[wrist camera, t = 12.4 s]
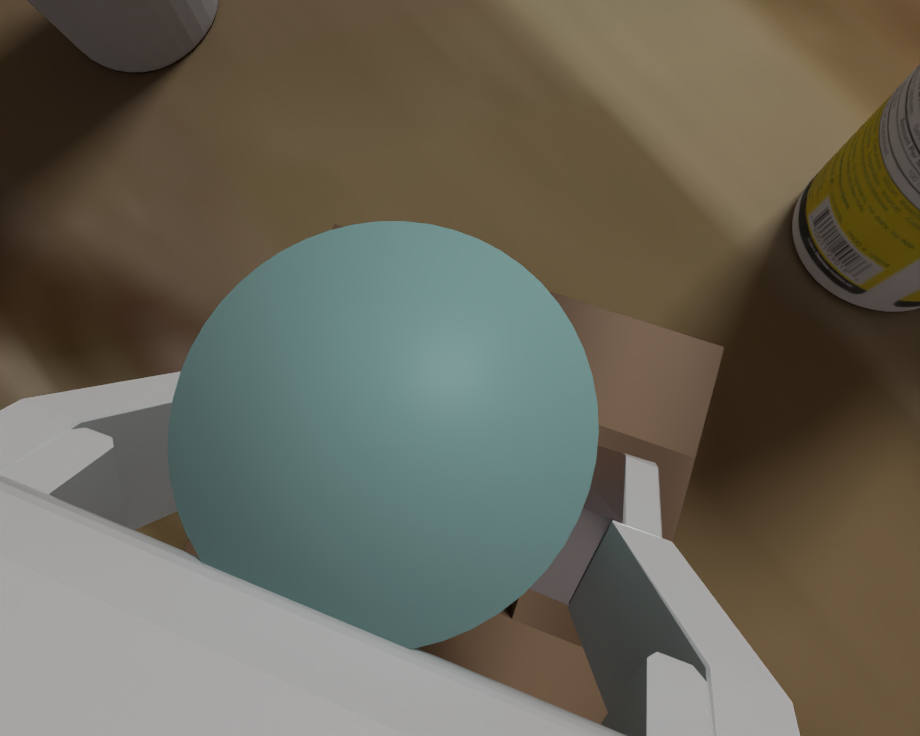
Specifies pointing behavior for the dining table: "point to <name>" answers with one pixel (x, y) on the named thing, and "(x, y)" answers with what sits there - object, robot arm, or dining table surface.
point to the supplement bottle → (868, 210)
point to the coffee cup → (131, 29)
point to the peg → (386, 430)
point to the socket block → (620, 429)
